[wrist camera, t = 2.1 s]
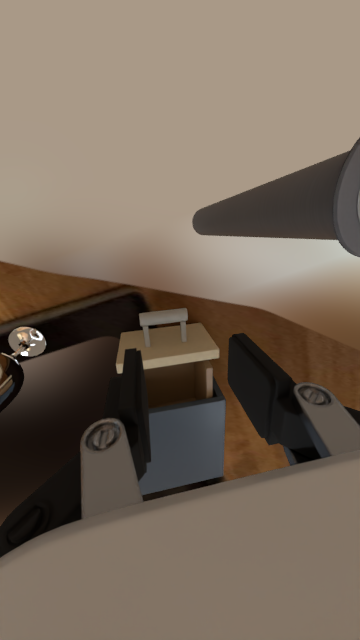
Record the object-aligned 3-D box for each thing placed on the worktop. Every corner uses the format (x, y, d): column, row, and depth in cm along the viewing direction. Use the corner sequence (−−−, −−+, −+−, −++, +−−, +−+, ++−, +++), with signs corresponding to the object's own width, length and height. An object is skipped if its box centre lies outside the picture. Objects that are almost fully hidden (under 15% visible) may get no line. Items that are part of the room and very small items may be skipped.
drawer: (115, 303, 28) (107, 327, 21) (200, 294, 29) (220, 313, 22) (134, 406, 35) (133, 451, 27) (202, 394, 36) (217, 434, 29)
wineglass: (1, 319, 27) (-94, 378, 16) (51, 324, 28) (-3, 383, 17) (4, 358, 29) (-79, 435, 18) (51, 361, 30) (2, 435, 19)
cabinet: (124, 369, 33) (119, 419, 24) (203, 357, 34) (225, 399, 26) (137, 436, 38) (137, 496, 30) (204, 423, 40) (223, 475, 31)
